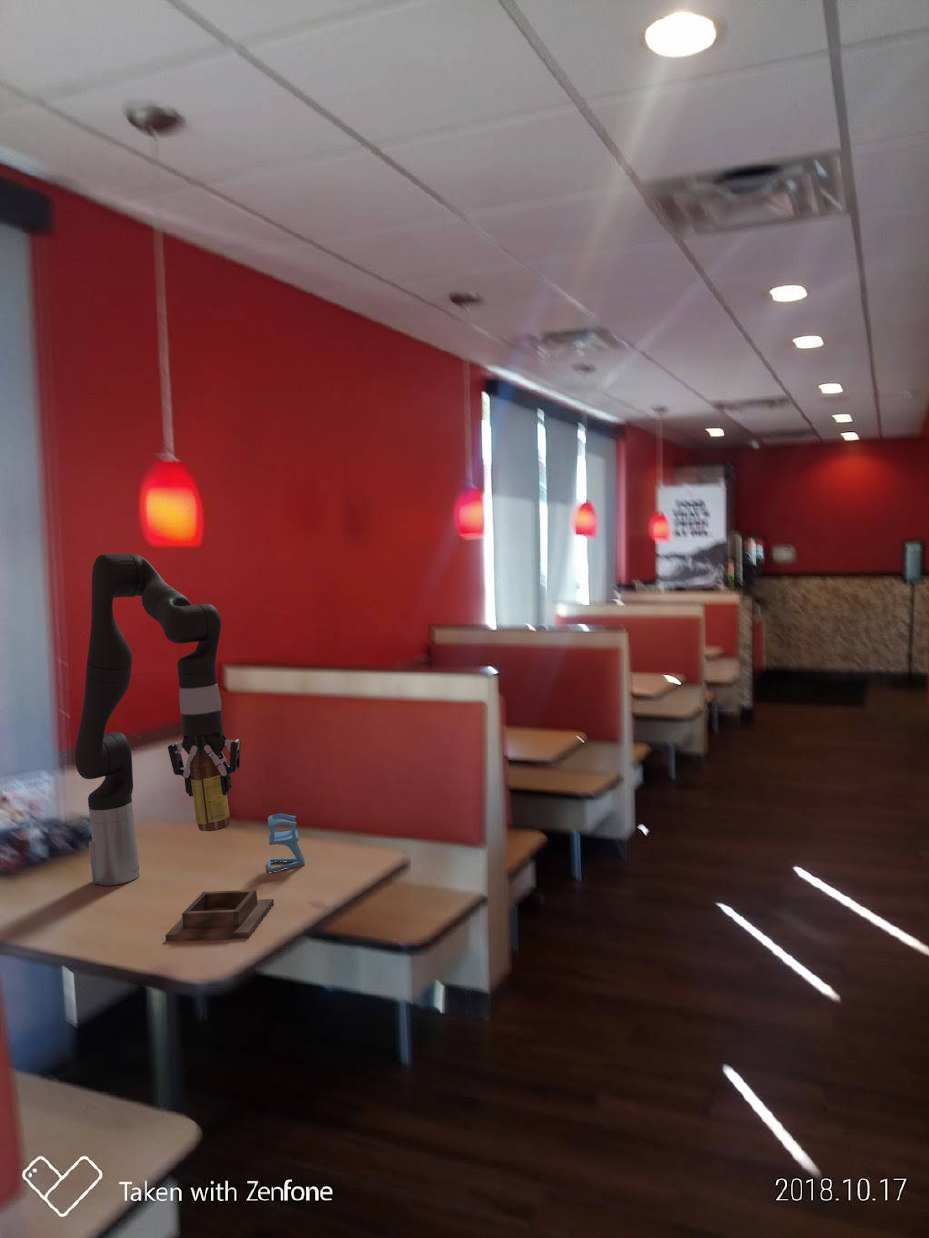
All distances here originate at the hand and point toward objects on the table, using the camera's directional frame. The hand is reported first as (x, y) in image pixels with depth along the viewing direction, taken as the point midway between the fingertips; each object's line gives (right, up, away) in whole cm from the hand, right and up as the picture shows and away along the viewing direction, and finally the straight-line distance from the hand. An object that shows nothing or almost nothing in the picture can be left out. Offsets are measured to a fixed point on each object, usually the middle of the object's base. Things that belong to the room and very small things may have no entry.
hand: (209, 794), depth 181 cm
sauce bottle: (+1, -7, 0) cm, 7 cm away
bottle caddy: (+2, -25, +2) cm, 25 cm away
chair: (+9, -23, +32) cm, 41 cm away
